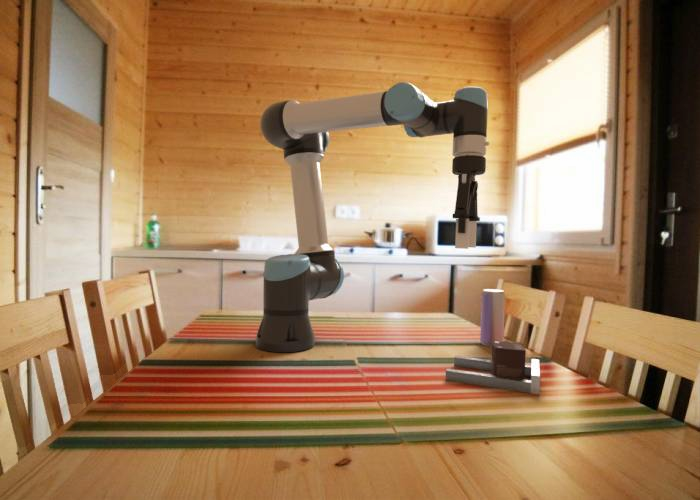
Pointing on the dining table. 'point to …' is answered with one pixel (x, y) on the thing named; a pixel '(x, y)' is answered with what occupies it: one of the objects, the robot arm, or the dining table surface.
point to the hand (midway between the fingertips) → (466, 248)
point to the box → (508, 359)
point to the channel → (493, 380)
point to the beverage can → (492, 316)
